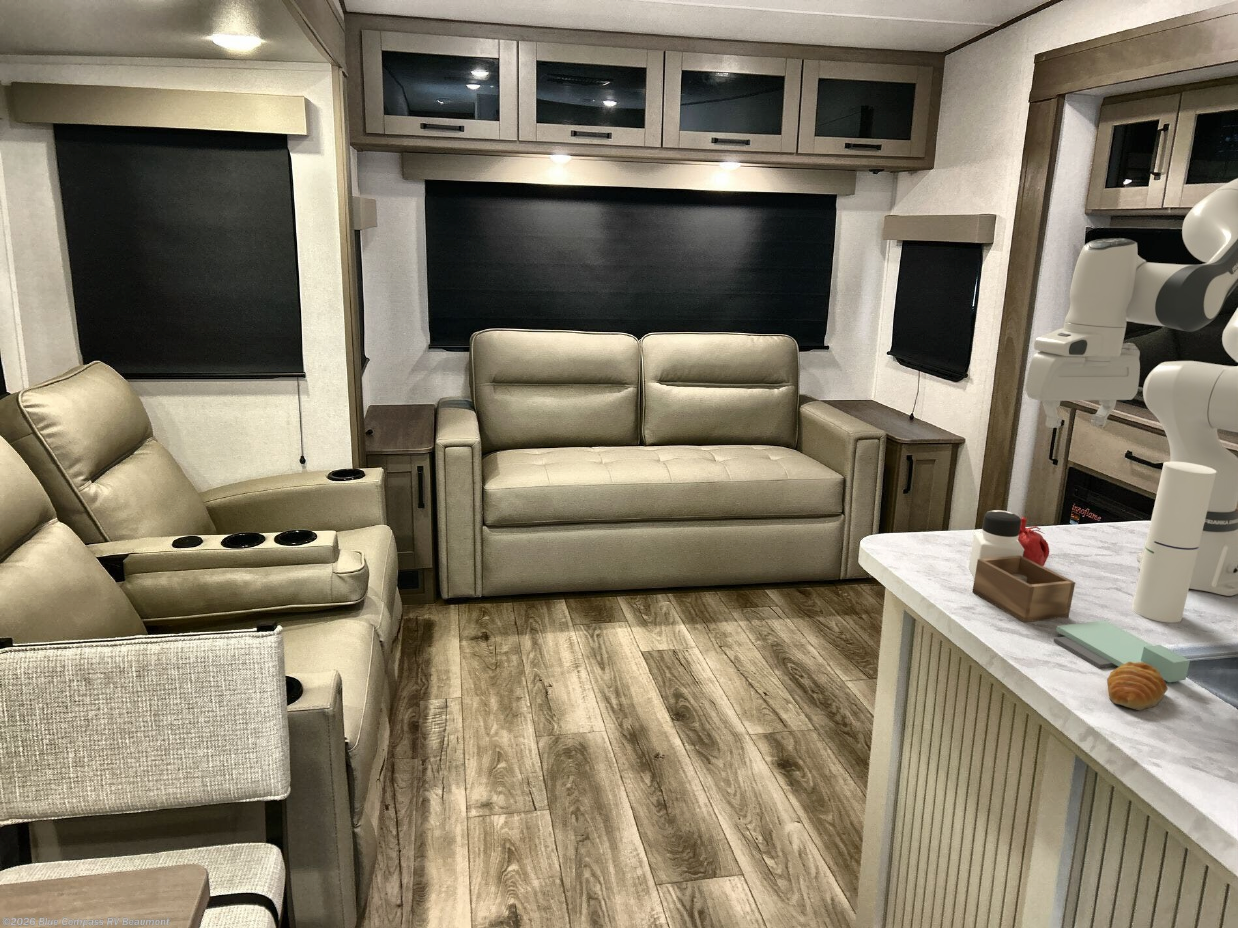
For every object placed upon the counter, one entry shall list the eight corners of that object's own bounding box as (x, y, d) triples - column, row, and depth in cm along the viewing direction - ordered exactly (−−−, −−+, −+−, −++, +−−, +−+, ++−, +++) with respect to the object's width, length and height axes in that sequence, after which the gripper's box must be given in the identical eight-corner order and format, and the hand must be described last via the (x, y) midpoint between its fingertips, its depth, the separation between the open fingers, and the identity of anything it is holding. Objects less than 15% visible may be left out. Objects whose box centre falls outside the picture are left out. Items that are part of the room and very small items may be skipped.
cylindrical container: (1164, 625, 142) (1199, 475, 136) (1122, 607, 148) (1153, 463, 142) (1191, 618, 146) (1226, 471, 139) (1148, 601, 152) (1180, 460, 145)
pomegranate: (997, 574, 161) (1004, 525, 159) (982, 554, 171) (989, 508, 168) (1054, 578, 160) (1062, 529, 158) (1036, 557, 170) (1043, 511, 167)
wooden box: (1014, 587, 155) (1020, 555, 153) (1068, 616, 144) (1075, 582, 142) (972, 592, 152) (977, 559, 150) (1023, 622, 141) (1030, 586, 139)
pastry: (1153, 721, 114) (1159, 694, 113) (1095, 702, 118) (1100, 675, 117) (1166, 694, 121) (1172, 669, 120) (1111, 677, 125) (1117, 652, 124)
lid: (1104, 624, 140) (1108, 607, 139) (1203, 677, 124) (1207, 657, 124) (1055, 630, 137) (1059, 612, 136) (1150, 684, 121) (1155, 665, 121)
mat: (1104, 634, 138) (1105, 631, 138) (1152, 660, 130) (1153, 657, 130) (1053, 641, 134) (1054, 637, 134) (1099, 668, 127) (1100, 664, 126)
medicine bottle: (1018, 587, 155) (1030, 522, 152) (975, 582, 156) (986, 517, 153) (1009, 572, 162) (1020, 509, 159) (968, 567, 163) (978, 505, 160)
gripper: (1124, 340, 149) (1108, 421, 153) (1026, 339, 143) (1012, 423, 146) (1157, 345, 143) (1139, 429, 147) (1056, 344, 137) (1040, 432, 140)
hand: (1075, 426), depth 146 cm, fingers open, 8 cm apart
